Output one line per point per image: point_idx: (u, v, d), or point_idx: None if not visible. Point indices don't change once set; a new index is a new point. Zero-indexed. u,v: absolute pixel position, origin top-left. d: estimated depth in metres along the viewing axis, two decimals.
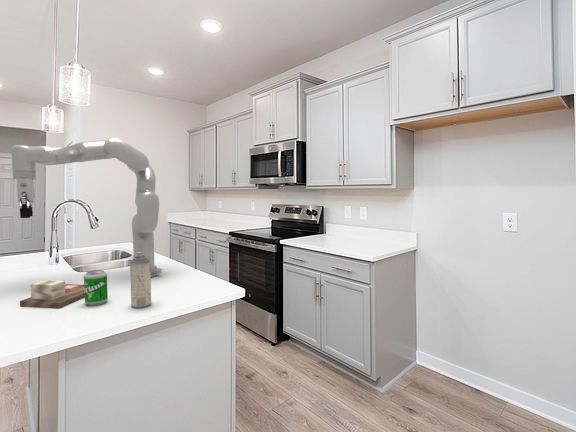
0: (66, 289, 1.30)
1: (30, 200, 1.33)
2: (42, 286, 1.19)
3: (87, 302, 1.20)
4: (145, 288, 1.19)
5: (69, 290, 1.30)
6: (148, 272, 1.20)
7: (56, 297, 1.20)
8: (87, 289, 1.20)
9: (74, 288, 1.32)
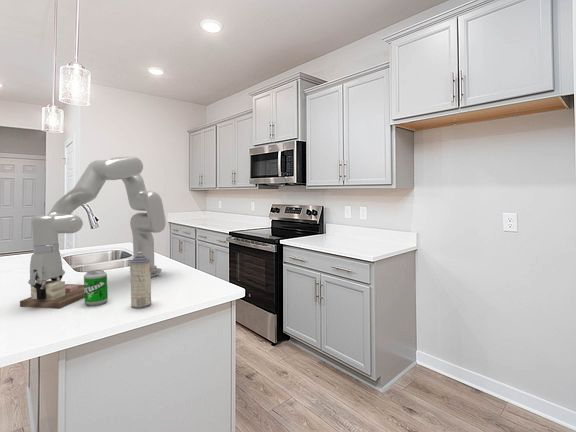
0: (66, 289, 1.30)
1: None
2: None
3: (87, 302, 1.20)
4: (145, 288, 1.19)
5: (69, 290, 1.30)
6: (148, 272, 1.20)
7: (56, 297, 1.20)
8: (87, 289, 1.20)
9: (74, 288, 1.32)
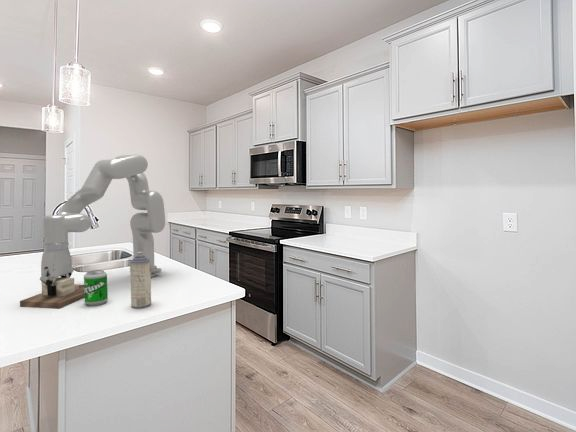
0: None
1: None
2: None
3: (87, 302, 1.20)
4: (145, 288, 1.19)
5: None
6: (148, 272, 1.20)
7: (66, 293, 1.25)
8: (87, 289, 1.20)
9: (75, 287, 1.33)
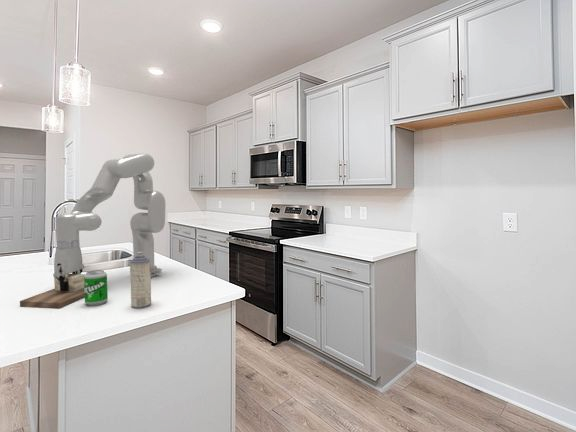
0: None
1: None
2: None
3: (87, 302, 1.20)
4: (145, 288, 1.19)
5: None
6: (148, 272, 1.20)
7: (77, 288, 1.31)
8: (87, 289, 1.20)
9: None
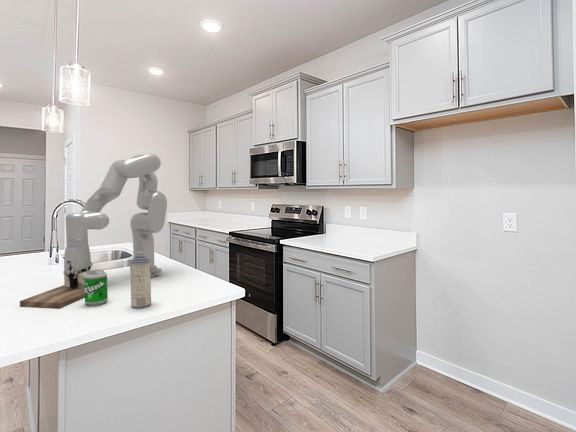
0: None
1: None
2: None
3: (87, 302, 1.20)
4: (145, 288, 1.19)
5: None
6: (148, 272, 1.20)
7: None
8: (87, 289, 1.20)
9: None
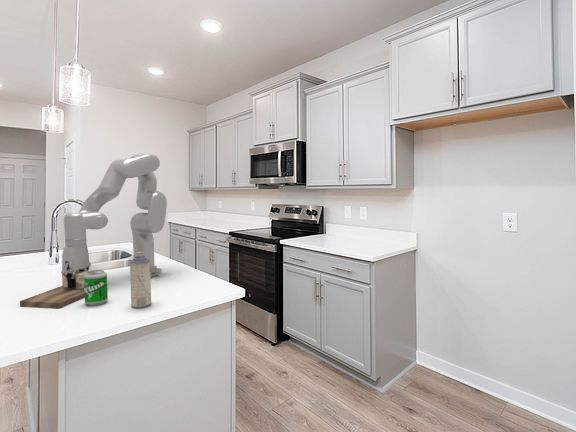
0: None
1: None
2: None
3: (87, 302, 1.20)
4: (145, 288, 1.19)
5: None
6: (148, 272, 1.20)
7: None
8: (87, 289, 1.20)
9: None
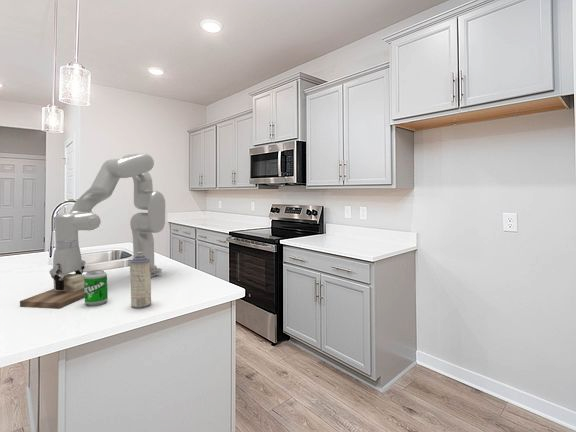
0: None
1: None
2: (64, 279, 1.29)
3: (87, 302, 1.20)
4: (145, 288, 1.19)
5: None
6: (148, 272, 1.20)
7: (77, 289, 1.30)
8: (87, 289, 1.20)
9: None
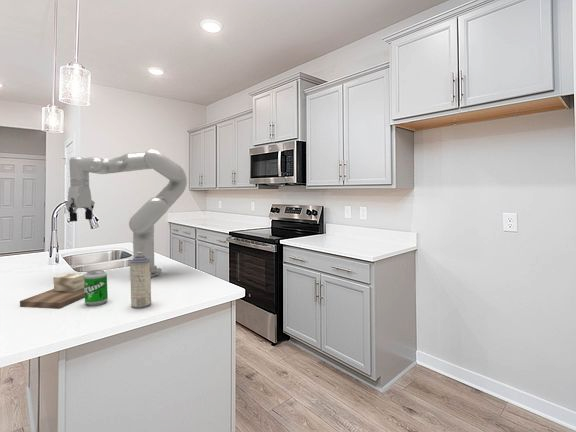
0: None
1: None
2: (64, 279, 1.29)
3: (87, 302, 1.20)
4: (145, 288, 1.19)
5: None
6: (148, 272, 1.20)
7: (77, 289, 1.30)
8: (87, 289, 1.20)
9: None
